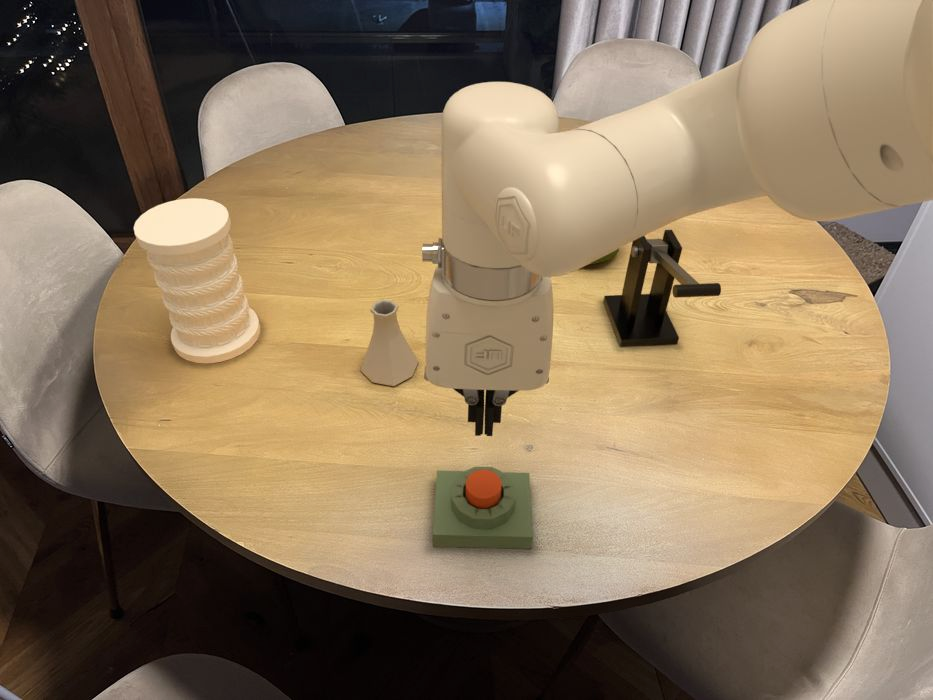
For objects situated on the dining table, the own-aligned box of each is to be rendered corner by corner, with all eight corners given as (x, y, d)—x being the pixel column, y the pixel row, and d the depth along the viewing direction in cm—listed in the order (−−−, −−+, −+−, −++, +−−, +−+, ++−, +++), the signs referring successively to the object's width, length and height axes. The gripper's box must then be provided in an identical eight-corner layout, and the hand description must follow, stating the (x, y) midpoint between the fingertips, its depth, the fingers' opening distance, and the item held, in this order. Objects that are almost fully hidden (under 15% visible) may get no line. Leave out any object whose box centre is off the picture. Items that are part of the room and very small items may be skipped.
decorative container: (220, 374, 87) (182, 257, 75) (154, 347, 91) (108, 231, 79) (277, 323, 95) (251, 210, 83) (214, 300, 99) (180, 188, 87)
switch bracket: (677, 344, 92) (701, 260, 83) (619, 346, 92) (638, 262, 83) (656, 299, 100) (676, 217, 91) (603, 301, 99) (618, 219, 90)
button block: (527, 485, 74) (530, 461, 72) (531, 549, 68) (534, 526, 66) (437, 482, 75) (436, 459, 72) (432, 546, 69) (431, 524, 66)
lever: (719, 301, 75) (722, 281, 74) (675, 303, 75) (678, 283, 74) (669, 255, 90) (671, 238, 89) (632, 257, 89) (634, 239, 88)
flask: (428, 361, 89) (426, 301, 83) (395, 394, 85) (390, 333, 78) (384, 342, 92) (378, 282, 85) (350, 373, 87) (341, 312, 81)
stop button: (500, 480, 70) (501, 469, 69) (501, 509, 68) (501, 498, 67) (466, 479, 70) (466, 468, 69) (465, 508, 68) (465, 497, 67)
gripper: (386, 288, 47) (399, 453, 60) (599, 294, 47) (567, 459, 60) (397, 230, 53) (406, 392, 65) (587, 235, 53) (561, 397, 65)
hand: (483, 424), depth 62 cm, fingers closed
